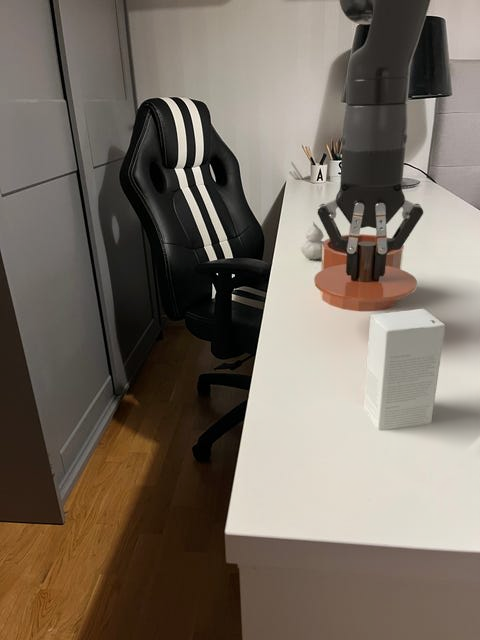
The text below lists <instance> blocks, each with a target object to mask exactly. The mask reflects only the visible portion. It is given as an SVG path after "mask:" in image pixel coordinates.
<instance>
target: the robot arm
mask: <svg viewBox="0 0 480 640" xmlns="http://www.w3.org/2000/svg"><path fill="white" fill-rule="evenodd" d="M338 2H339V5H340V8H341V11H342V13H343V14H344V16H345V17H346V18H347V19H348V20H349V21H351V22H352V23H355V24H357V25H358V24H359V25H364V26H365V25H366V26H367V25H369V30H368V33H367V38H366V40H365V43H364V44H363V46H361V47H360V48H358V49H357V50H356V51H354V52H353V53H352V54H351V55H350V58H349V60H348V65H347V75H346V92H345V93H346V95H345V97H346V98H345V109H344V110H345V111H344V117H343V123H342V134H341V135H342V136H341V162H340V185H339V191H338V192H337V193H336V196H335V199H333V200H331V201H329V202H327V203H321V204H320V205H319V206H318V207H317V216H318V217H319V219H320V222H321V223H322V226H323V228H324V230H325V232H326V234H327V236H328V239H330V240H331V242H332V244H333V246H334V248H336V249H342V250H344V251H345V252H346V253H347V262H346V273H347V275H349V276H351V280H356V273H357V257H358V253H357V250H356V249H357V248H356V247H357V242H358V237H359V234H360V232H361V229H364V228H367V227H369V228H373V229H375V235H376V239H377V250H376V254H375V267H374V280H378V281H379V276H384V274H385V266H386V255H387V253H388V252H389V251H392V250H399V249H401V247H402V246H404V244H405V243H406V242H407V239H408V238H409V237H410V235H411V233H412V232H413V230H414V229H415V227H416V226H417V224H418V223H419V221H420V220H421V218H422V216H423V215H424V210H423V208H422V206H421V204H419V203H413V202H411V201H409V200H407V199H406V197H405V194H404V191H403V178H404V168H405V155H406V145H407V142H408V99H409V89H410V77H411V76H410V75H411V73H410V72H411V64H412V61H413V57H414V54H415V52H416V49H417V46H418V43H419V40H420V38H421V33H422V32H423V31H422V30H423V28H424V24H425V22H426V21H425V20H426V18H427V14H428V12H429V8H430V5H431V0H339V1H338ZM337 209H339V211H340V212H341V214H343V216H344V217H345V219H346V220H347V222H348V223H349V230H348V234H347V235H348V239H346V238H343V237H342V233H341V231H340V229H339V227H338V225H337V223H336V220H335V219H336V217H337ZM401 209H402V212H401V217H402V219H403V220H402V221H401V223H400V224H399V226H398V227H397V229H396V231H395V233H394V234H393V235H392V237H389V238H390V239H387V238H388V235H387V233H388V232H387V224H389V222H390V221H391V220H392V219H393V218H394V217H395V215H396V214H397V213H398V212H399V210H401Z"/></svg>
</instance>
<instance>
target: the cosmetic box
mask: <svg viewBox="0 0 480 640" xmlns="http://www.w3.org/2000/svg"><path fill="white" fill-rule="evenodd" d="M445 330H446V324H445V323H443V322H442V321H441V320H440V319H438V318H437V317H436V316H435V315H433V314H432V313H430V312H429V311H428V310H427V309H425V308H418V309H411V310H410V309H409V310H401V311H391V312H383V313H373V314H370V316H369V330H368V342H367V343H368V344H367V358H366V359H367V361H366V374H365V390H364V401H363V402H364V403H363V410H364V412H365V413H366V414H367V416H368V417H369V419H370V420H371V422H372V423H373V425H374V426H375V428H376V429H377V430H378V431H386V430H394V429H401V428H408V427H409V428H410V427H416V426H422V425H430V424H432V421H433V414H434V413H433V412H434V406H435V400H436V393H437V386H438V385H437V384H438V379H439V372H440V365H441V358H442V351H443V343H444V338H445Z"/></svg>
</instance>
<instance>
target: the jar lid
mask: <svg viewBox="0 0 480 640" xmlns="http://www.w3.org/2000/svg"><path fill="white" fill-rule="evenodd" d="M357 253H358V257H357V273H356V280H351V276H349V275H347V273H346V264H343V265H337V266H332V267H329V268H326V269H324V270H322V271H321V270H320V271H318V272H317V273H316V274H315V275H314V279H313V282H314V286H315V287H316V289H317V290H319V292H320V291H322V292H324V293H326V294H328V295H330V296H333V297H337V298H341V299H346V300H352V301H362V302H380V301H390V300H396V299H398V300H400V299H403V298H405V297H408V296H410V295H412V294H413V293H414V292H415V291H416V290H417V289H418V288H417V287H418V280H417V278H416V277H415V276H414V275H413V274H411V273H409V272H408V271H406V270H404V269H402V268H401V269H398V268H394V267H390V266H385V274H384V276H379V281H378V280H374V267H375V254H376V243H374V242H370V241H363V242H359V243H358V248H357Z"/></svg>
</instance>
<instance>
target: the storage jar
mask: <svg viewBox="0 0 480 640" xmlns="http://www.w3.org/2000/svg"><path fill="white" fill-rule="evenodd" d="M348 235H349V234H343V235H342V234H341V236H342V237H343V238H346V239H348ZM390 238H391V237H387V239H390ZM323 241H324V243H323V244H322V257H321V265H320V266H321V267H320V271H322V270H324V269H326V268H329V267H332V266H337V265H343V264H346V262H347V253H346V252H345V251H344V250H342V249H336V248H334V246H333V244H332V242H331V240H330V238H327V239H324V240H323ZM363 241H370V242H374V243H376V250H377V239H376V234H362V233H361V234H360V233H359V237H358V242H357V247H356V248H358V243H359V242H363ZM404 248H405V246H404V245H403V246H402V247H401V249H399V250H392V251H389V252H388V253H387V255H386V266H390V267H394V268H398V269H401V270H402V267H403V258H404ZM356 250H357V249H356ZM319 292H320V293H319V295H320V297H321V300H322V301H324V303H326V304H328V305H329V306H332V307H335V308H338V309H340V310H341V309H342V310H346V311H353V312H354V311H355V312H376V311H382V310H386V309H389V308H391V307H393V306H395V305H396V304H397V303H398V300H399V299H396V300H390V301H380V302H362V301H352V300H346V299H341V298H337V297H333V296H330V295H328V294H326V293H324V292H322V291H320V290H319Z"/></svg>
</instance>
